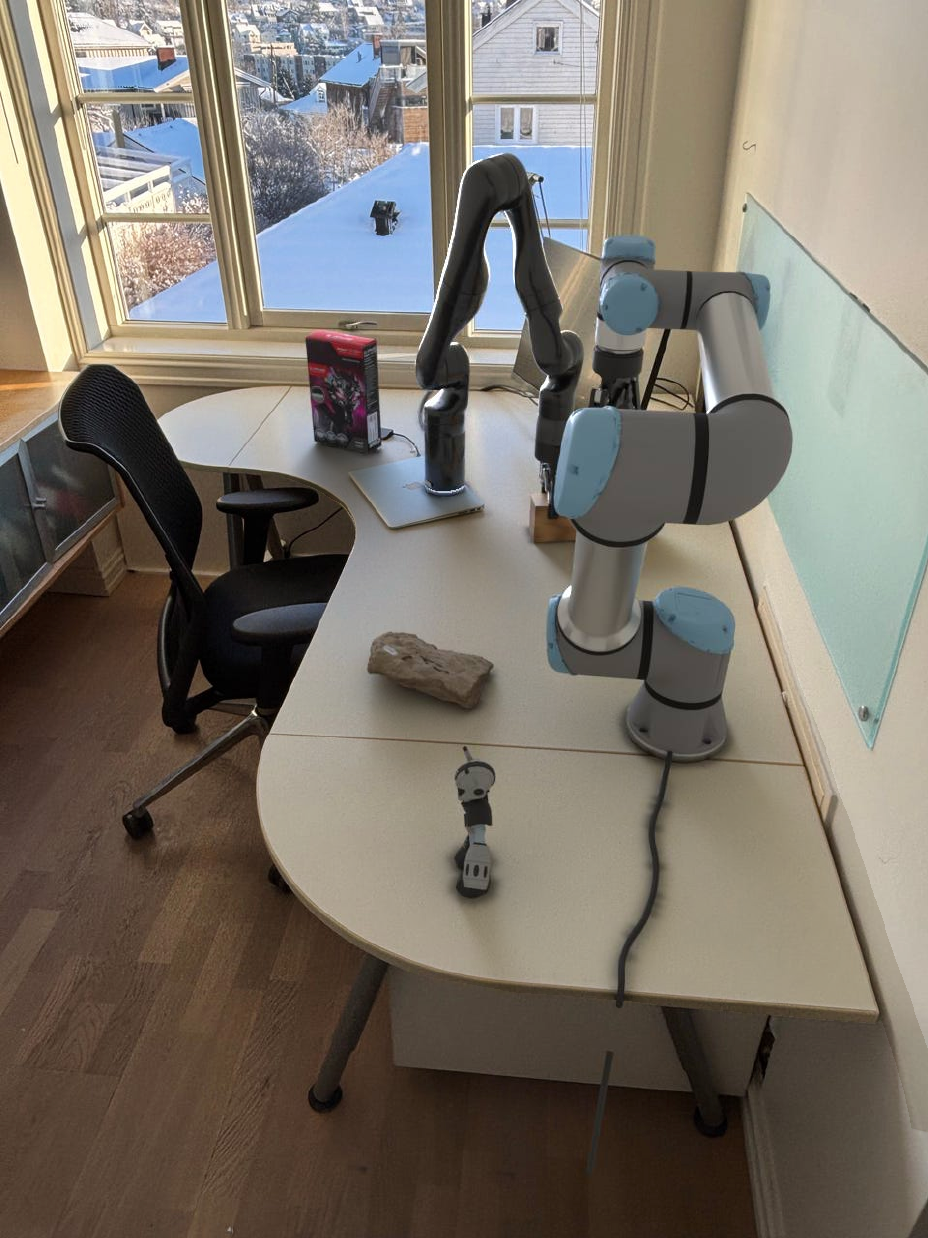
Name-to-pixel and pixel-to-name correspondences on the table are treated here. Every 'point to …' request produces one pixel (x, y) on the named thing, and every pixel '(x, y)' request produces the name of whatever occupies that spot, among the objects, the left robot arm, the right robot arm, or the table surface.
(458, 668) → the stone
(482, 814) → the robot
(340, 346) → the graphics card box
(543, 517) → the box
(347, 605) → the table surface
